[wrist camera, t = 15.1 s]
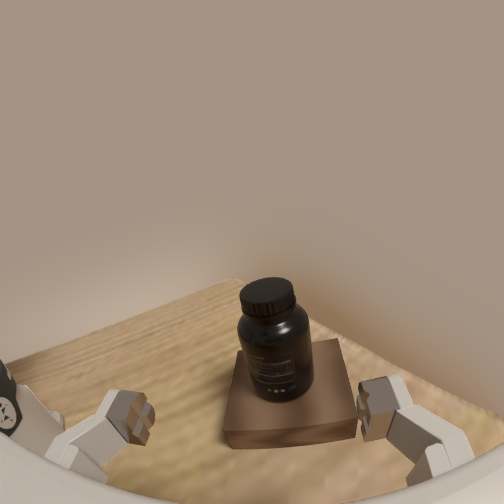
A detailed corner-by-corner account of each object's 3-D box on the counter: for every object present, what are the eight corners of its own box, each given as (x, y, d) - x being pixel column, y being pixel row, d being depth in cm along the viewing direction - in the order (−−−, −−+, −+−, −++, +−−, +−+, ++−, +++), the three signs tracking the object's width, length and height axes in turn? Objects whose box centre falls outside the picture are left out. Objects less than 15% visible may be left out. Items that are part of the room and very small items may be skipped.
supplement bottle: (259, 361, 32) (239, 274, 29) (316, 360, 31) (307, 268, 27) (247, 403, 26) (217, 310, 22) (312, 404, 24) (303, 306, 20)
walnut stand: (232, 449, 24) (222, 430, 23) (244, 371, 37) (238, 350, 35) (355, 437, 23) (358, 417, 21) (337, 360, 35) (337, 338, 34)
